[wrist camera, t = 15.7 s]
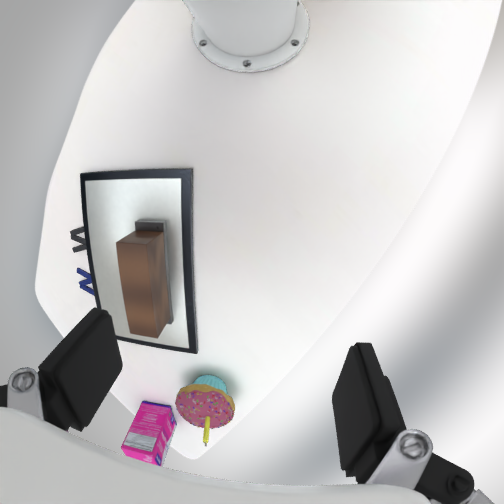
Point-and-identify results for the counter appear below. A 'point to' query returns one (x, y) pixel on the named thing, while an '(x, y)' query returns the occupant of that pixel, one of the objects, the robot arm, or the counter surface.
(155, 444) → the supplement box
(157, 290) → the eraser
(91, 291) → the scribble
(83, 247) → the scribble
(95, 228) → the whiteboard
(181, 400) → the cupcake
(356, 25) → the counter surface
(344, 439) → the robot arm
